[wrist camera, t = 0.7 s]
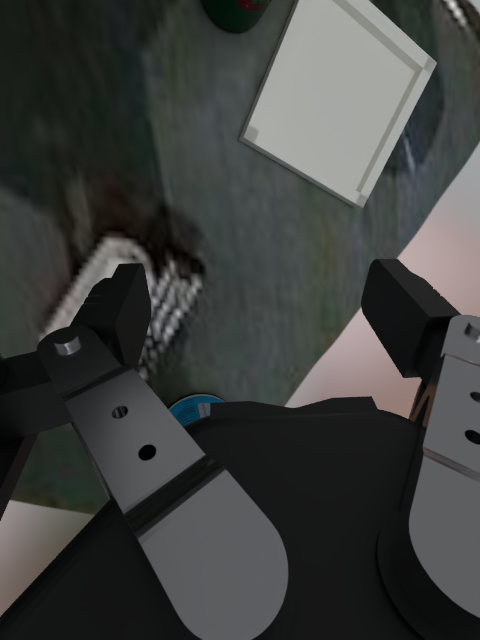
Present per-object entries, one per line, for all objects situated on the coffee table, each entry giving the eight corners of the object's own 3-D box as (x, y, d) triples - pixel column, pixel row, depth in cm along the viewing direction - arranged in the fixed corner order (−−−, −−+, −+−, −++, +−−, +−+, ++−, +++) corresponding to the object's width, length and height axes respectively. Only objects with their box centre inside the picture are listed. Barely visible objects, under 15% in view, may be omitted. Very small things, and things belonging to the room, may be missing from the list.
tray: (238, 139, 28) (243, 137, 26) (308, -33, 25) (317, -47, 23) (353, 207, 32) (362, 208, 31) (423, 69, 30) (436, 63, 28)
